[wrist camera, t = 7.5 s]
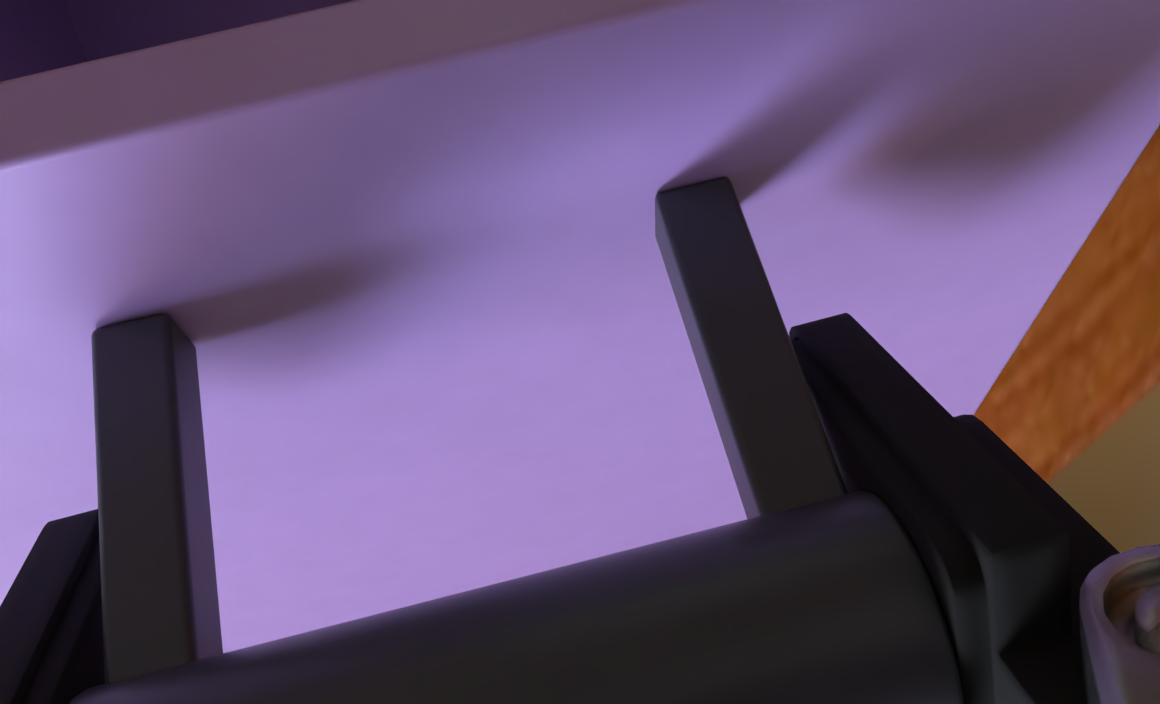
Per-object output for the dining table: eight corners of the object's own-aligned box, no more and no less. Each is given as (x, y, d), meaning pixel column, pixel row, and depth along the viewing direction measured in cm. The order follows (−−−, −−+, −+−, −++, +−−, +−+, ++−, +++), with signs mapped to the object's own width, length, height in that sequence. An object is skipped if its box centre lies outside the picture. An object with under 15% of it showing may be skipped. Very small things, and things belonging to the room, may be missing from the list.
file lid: (-700, 237, 8) (-1069, 1274, 5) (1282, -218, 8) (1867, 487, 6) (134, 642, 20) (154, 1009, 17) (916, 442, 20) (1049, 767, 18)
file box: (-5, -100, 22) (-207, -87, 15) (709, -258, 22) (848, -320, 15) (212, 444, 27) (141, 648, 20) (784, 302, 28) (913, 451, 20)
